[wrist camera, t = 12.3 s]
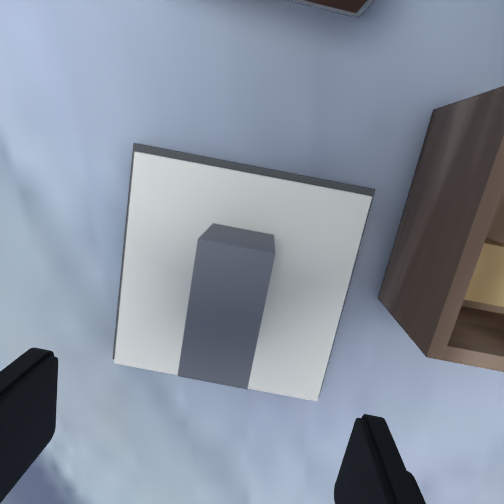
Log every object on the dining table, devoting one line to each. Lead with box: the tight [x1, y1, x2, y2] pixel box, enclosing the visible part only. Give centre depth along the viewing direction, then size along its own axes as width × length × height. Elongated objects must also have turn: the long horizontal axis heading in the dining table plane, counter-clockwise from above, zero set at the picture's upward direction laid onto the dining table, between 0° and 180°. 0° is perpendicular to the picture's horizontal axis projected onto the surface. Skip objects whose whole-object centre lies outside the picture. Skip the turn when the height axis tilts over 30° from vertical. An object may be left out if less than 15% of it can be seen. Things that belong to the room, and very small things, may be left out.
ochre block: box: [464, 238, 504, 307], centre depth 22 cm, size 4×4×4 cm
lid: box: [114, 152, 372, 402], centre depth 22 cm, size 15×15×6 cm
